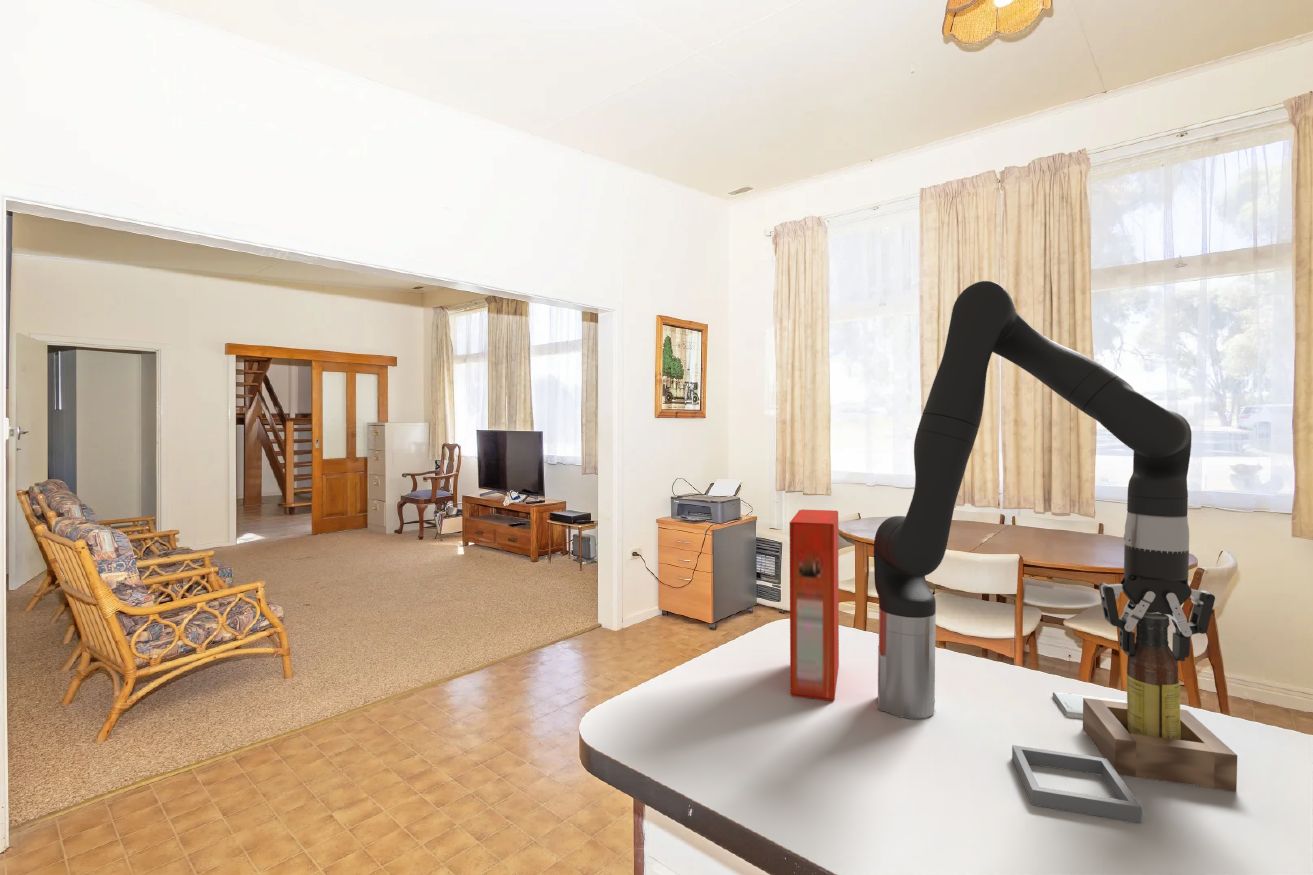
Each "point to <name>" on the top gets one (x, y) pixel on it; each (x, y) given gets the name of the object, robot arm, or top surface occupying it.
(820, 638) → the file binder
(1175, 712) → the sauce bottle
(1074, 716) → the hard drive
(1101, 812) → the square frame
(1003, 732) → the top surface
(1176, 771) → the holder
